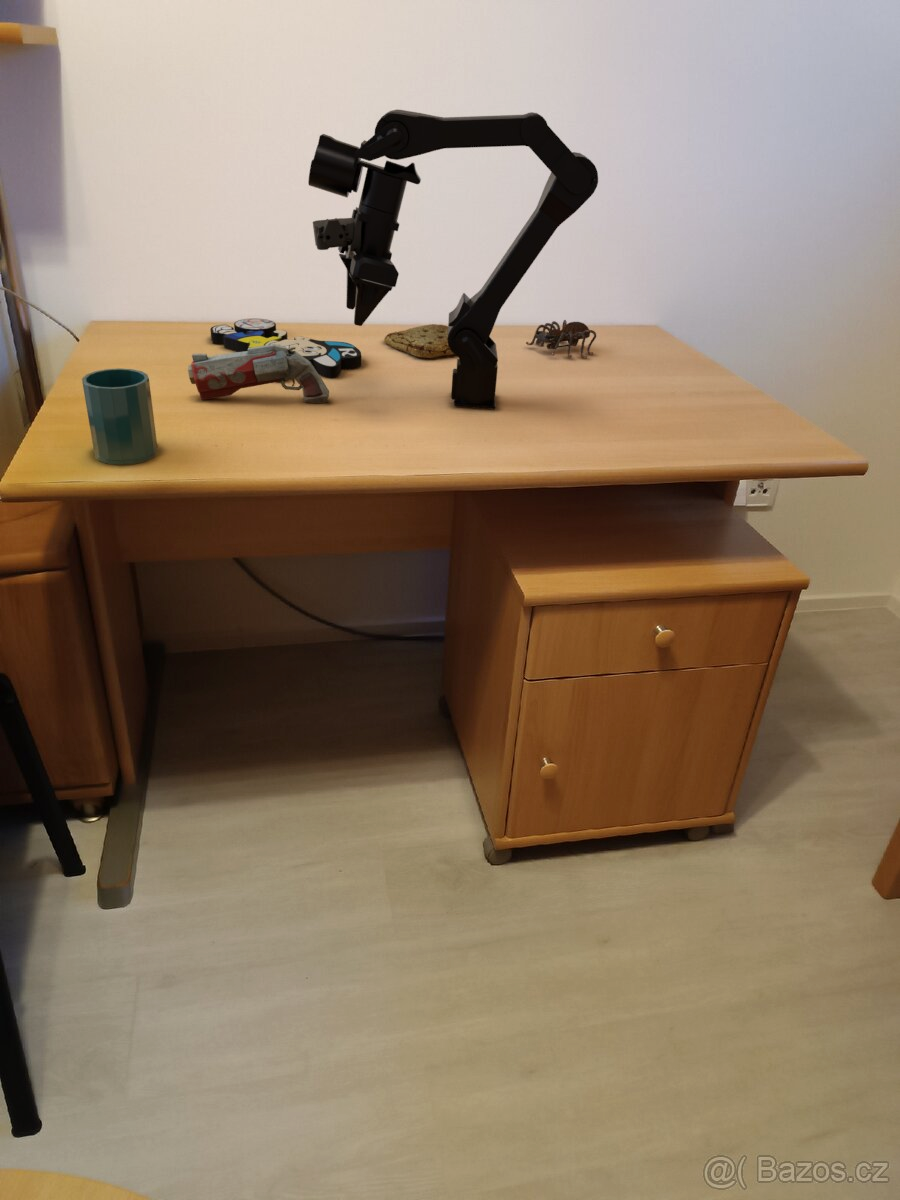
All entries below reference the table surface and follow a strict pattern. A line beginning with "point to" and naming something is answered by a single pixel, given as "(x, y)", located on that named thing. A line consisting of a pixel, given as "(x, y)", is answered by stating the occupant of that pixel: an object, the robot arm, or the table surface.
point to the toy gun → (256, 372)
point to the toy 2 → (563, 336)
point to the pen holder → (120, 416)
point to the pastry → (421, 341)
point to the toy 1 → (288, 345)
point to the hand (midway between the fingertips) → (353, 316)
